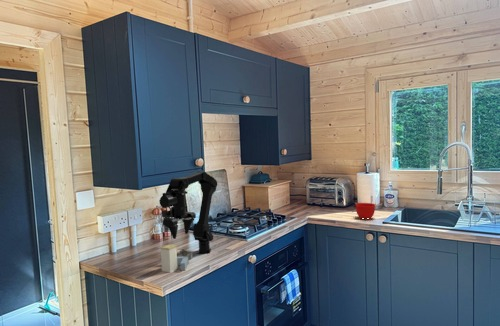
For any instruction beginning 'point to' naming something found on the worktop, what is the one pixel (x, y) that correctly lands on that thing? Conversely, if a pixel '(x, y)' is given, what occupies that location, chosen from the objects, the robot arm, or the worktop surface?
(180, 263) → the corner fence
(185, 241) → the worktop surface
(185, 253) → the egg carton
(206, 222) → the robot arm
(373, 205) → the ceramic cup
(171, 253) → the tea tin
